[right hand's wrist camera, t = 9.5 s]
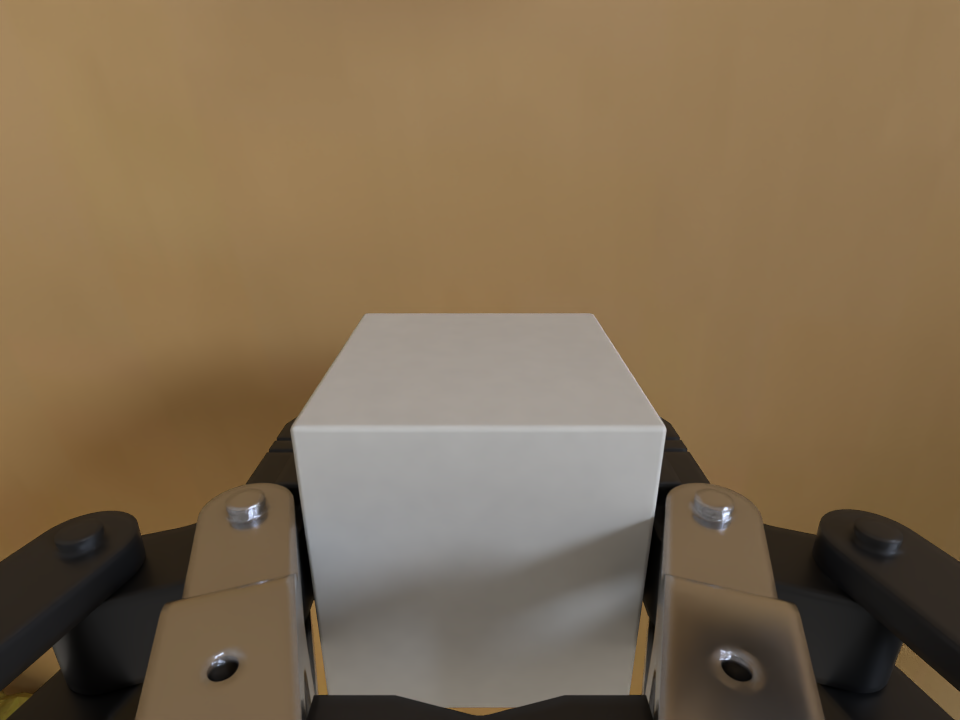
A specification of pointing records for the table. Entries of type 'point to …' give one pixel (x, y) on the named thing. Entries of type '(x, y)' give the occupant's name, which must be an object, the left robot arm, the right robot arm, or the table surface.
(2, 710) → the toy gun
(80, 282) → the table surface
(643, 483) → the white cube
